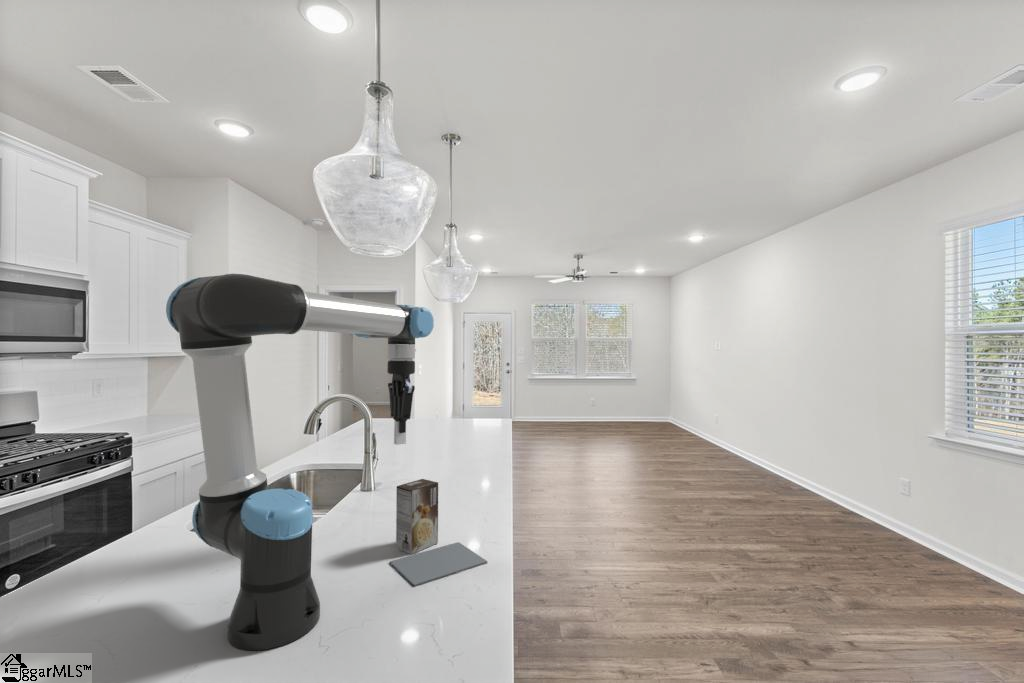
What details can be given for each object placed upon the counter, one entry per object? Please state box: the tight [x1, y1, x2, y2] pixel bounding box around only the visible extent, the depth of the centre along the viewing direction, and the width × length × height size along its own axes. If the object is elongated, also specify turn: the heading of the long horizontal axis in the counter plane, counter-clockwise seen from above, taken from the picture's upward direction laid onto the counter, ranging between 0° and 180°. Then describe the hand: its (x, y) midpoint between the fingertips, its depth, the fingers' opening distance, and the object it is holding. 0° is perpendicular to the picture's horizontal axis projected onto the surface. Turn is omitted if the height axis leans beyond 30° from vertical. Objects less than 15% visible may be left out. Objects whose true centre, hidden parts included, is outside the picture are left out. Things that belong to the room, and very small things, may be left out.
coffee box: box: [395, 478, 439, 555], centre depth 119 cm, size 9×6×16 cm
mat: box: [389, 541, 488, 587], centre depth 110 cm, size 19×14×1 cm
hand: (399, 443), depth 129 cm, fingers closed
